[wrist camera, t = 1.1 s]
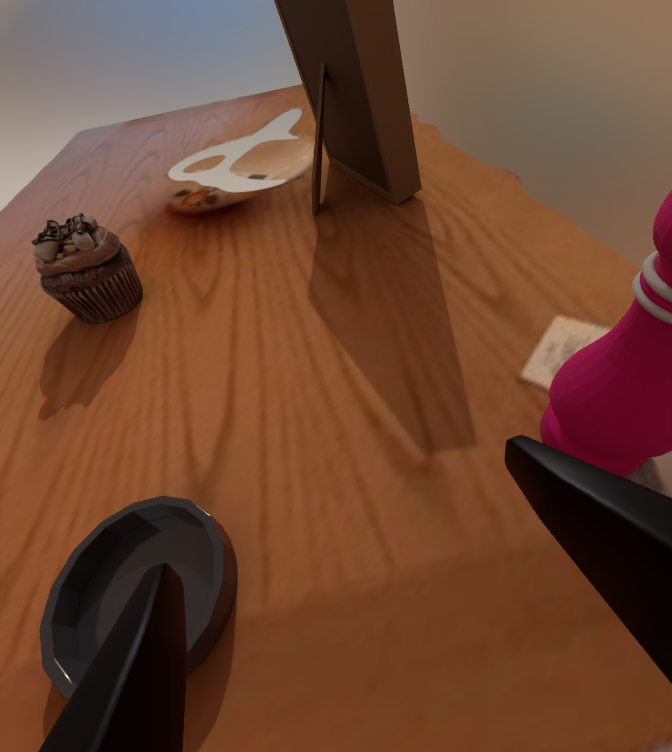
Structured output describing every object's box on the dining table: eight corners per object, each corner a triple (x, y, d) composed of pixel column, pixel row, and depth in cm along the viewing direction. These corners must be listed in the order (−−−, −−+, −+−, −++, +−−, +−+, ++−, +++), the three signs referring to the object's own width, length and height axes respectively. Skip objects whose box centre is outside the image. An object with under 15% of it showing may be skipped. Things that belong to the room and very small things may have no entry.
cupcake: (142, 269, 48) (96, 192, 41) (157, 305, 43) (106, 223, 35) (68, 298, 46) (3, 222, 39) (73, 341, 40) (-2, 261, 33)
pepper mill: (512, 410, 28) (652, 81, 13) (600, 386, 28) (837, 39, 13) (574, 500, 23) (916, 146, 8) (678, 470, 23) (1192, 78, 8)
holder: (265, 616, 21) (252, 609, 19) (85, 756, 18) (49, 765, 16) (204, 483, 27) (190, 467, 25) (62, 572, 24) (33, 562, 22)
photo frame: (350, 155, 66) (332, -60, 47) (421, 196, 52) (435, -84, 33) (274, 180, 63) (221, -39, 44) (328, 230, 49) (285, -56, 30)
